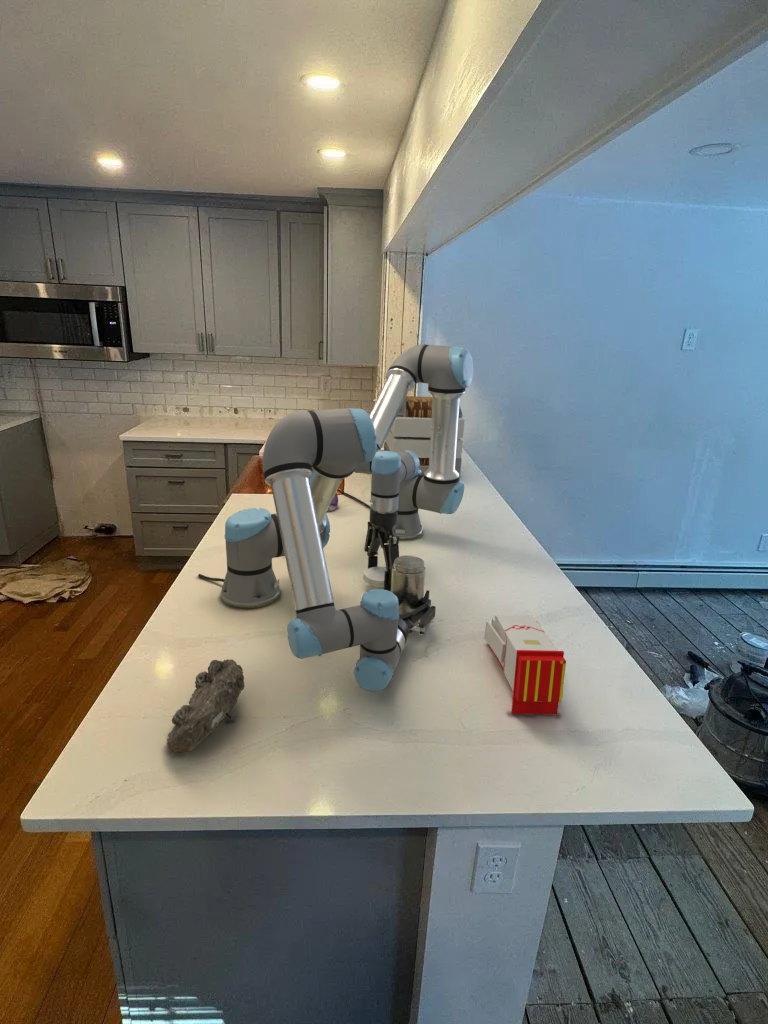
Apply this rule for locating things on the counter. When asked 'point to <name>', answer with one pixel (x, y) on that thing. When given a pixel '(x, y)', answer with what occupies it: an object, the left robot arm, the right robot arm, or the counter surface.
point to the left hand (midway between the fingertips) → (410, 592)
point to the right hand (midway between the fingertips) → (380, 584)
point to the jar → (408, 583)
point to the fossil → (206, 705)
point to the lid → (375, 576)
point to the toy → (527, 663)
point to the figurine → (333, 503)
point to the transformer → (418, 430)
